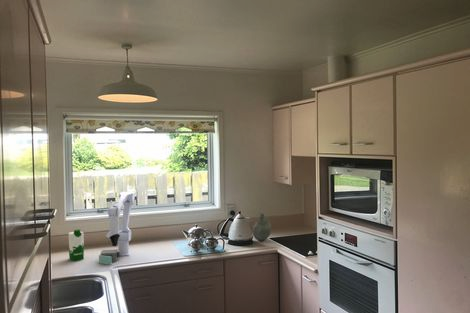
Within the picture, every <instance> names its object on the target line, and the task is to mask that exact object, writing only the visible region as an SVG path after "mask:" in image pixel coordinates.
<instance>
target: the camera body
mask: <svg viewBox="0 0 470 313" xmlns="http://www.w3.org/2000/svg"><path fill="white" fill-rule="evenodd" d="M99 255H102V256H111V257H112V263H116V262H117V261H118V259H120V258H121V256H120V251H119V252H118V248H117V249H115V248H114V249H102V250H101V252H100V254H99Z"/></svg>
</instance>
